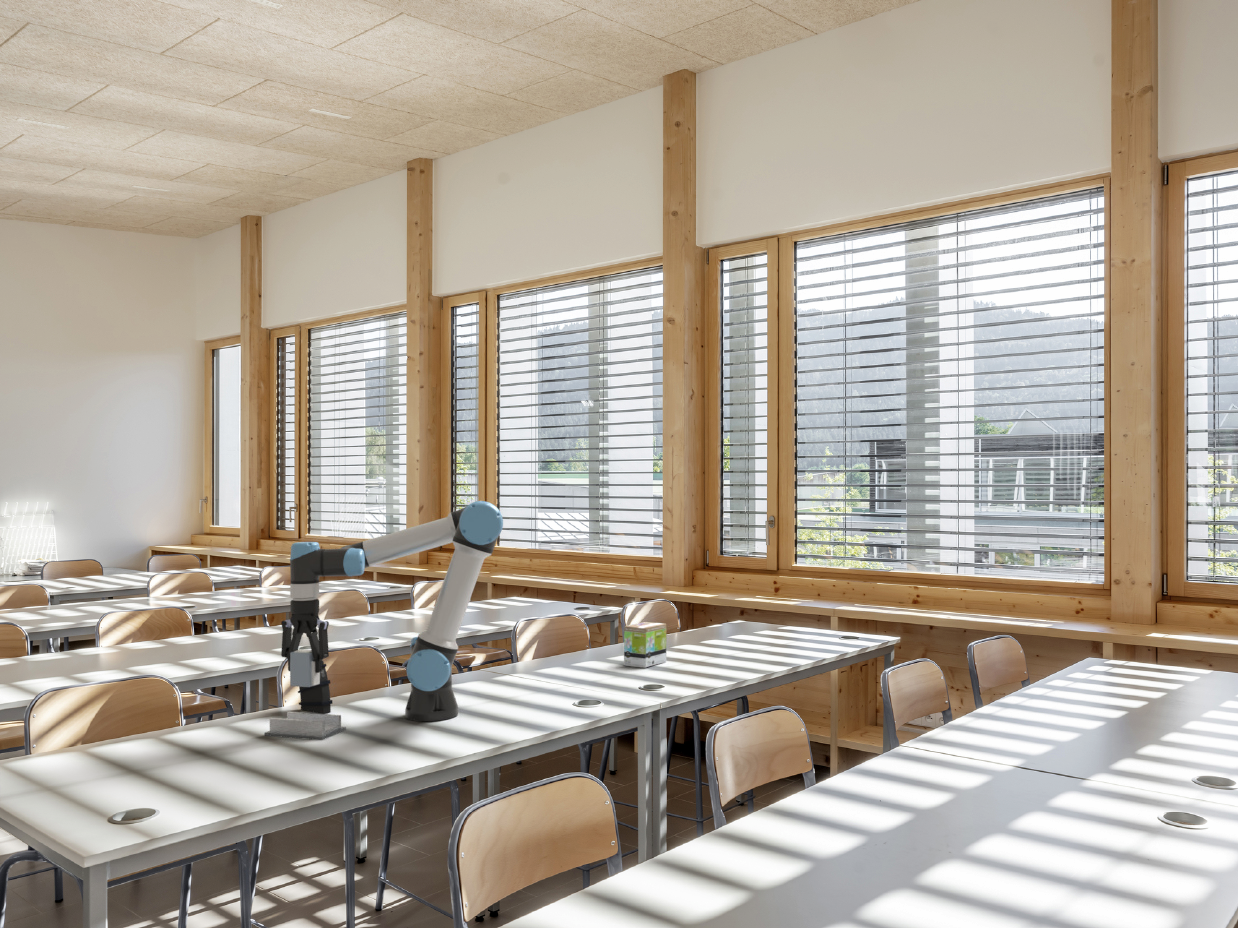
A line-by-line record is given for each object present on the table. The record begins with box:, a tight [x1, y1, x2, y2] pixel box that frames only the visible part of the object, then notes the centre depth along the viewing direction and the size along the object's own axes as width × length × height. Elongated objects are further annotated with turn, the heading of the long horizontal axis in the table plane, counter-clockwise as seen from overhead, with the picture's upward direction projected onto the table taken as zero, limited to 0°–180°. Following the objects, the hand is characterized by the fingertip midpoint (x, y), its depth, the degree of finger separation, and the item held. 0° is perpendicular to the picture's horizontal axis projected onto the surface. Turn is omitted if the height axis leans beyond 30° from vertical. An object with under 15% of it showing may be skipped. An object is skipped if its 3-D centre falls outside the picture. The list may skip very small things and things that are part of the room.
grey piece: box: [264, 711, 347, 741], centre depth 262 cm, size 18×11×4 cm, turn 73°
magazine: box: [297, 660, 333, 714], centre depth 288 cm, size 4×13×15 cm, turn 54°
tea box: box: [623, 621, 667, 669], centre depth 358 cm, size 15×10×15 cm, turn 147°
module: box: [289, 648, 314, 688], centre depth 262 cm, size 6×4×9 cm
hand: (305, 683), depth 262 cm, fingers closed on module, 6 cm apart
